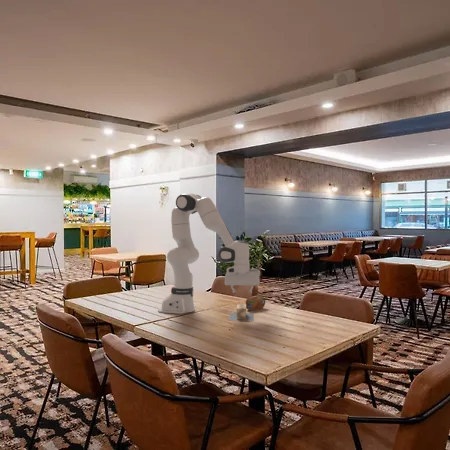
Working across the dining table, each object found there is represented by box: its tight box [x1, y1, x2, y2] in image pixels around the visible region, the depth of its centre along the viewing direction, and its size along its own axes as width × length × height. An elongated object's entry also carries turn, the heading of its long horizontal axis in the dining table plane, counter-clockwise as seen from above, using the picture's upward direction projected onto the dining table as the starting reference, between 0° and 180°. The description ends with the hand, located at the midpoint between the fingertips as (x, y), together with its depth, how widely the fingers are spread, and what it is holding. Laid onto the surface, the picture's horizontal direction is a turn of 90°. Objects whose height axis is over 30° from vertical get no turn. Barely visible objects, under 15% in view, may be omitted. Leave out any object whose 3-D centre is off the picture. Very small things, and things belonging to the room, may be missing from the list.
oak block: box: [236, 303, 247, 319], centre depth 231 cm, size 5×12×6 cm, turn 176°
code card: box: [228, 312, 255, 322], centre depth 231 cm, size 14×18×1 cm
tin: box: [245, 295, 266, 311], centre depth 251 cm, size 15×3×8 cm, turn 129°
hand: (242, 292), depth 231 cm, fingers open, 8 cm apart
